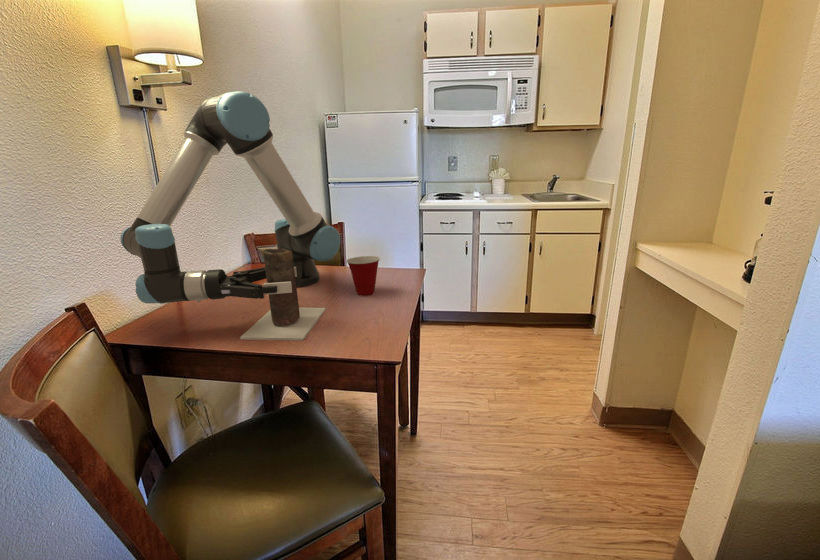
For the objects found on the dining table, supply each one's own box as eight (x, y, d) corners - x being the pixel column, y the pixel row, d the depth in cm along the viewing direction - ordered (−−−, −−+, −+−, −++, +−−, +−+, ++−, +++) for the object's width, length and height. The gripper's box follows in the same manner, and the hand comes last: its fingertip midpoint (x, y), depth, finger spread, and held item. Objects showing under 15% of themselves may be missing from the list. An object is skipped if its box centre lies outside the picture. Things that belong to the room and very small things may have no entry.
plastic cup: (371, 285, 135) (369, 252, 131) (387, 294, 126) (386, 258, 122) (343, 291, 129) (340, 257, 125) (357, 301, 120) (355, 264, 117)
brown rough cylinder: (272, 317, 107) (263, 247, 101) (299, 314, 109) (292, 245, 103) (271, 328, 100) (261, 253, 94) (300, 324, 102) (293, 251, 96)
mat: (273, 309, 115) (273, 307, 115) (325, 309, 114) (325, 307, 114) (240, 339, 96) (240, 337, 96) (303, 340, 95) (302, 338, 95)
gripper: (223, 283, 111) (299, 278, 115) (194, 317, 88) (290, 309, 91) (219, 258, 109) (296, 253, 112) (187, 286, 85) (287, 279, 89)
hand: (294, 278), depth 102 cm, fingers open, 13 cm apart
